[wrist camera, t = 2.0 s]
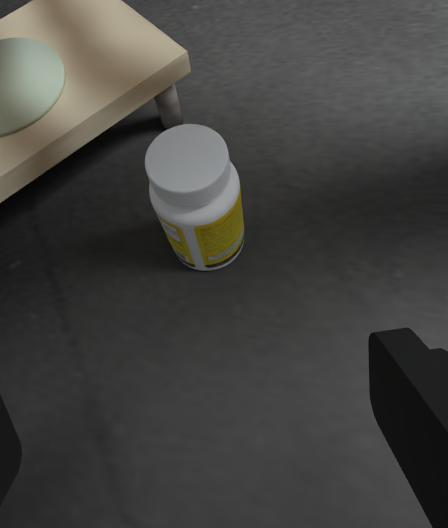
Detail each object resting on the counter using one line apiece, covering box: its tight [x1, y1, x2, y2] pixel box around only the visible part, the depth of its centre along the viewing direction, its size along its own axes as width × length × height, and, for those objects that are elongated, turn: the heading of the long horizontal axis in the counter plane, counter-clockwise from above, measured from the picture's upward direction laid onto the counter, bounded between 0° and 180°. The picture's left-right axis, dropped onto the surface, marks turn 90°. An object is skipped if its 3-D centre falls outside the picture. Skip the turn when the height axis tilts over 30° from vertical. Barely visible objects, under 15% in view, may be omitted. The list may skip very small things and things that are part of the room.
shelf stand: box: [0, 0, 191, 203], centre depth 28 cm, size 20×12×6 cm, turn 131°
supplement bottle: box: [145, 124, 245, 271], centre depth 23 cm, size 5×5×8 cm
